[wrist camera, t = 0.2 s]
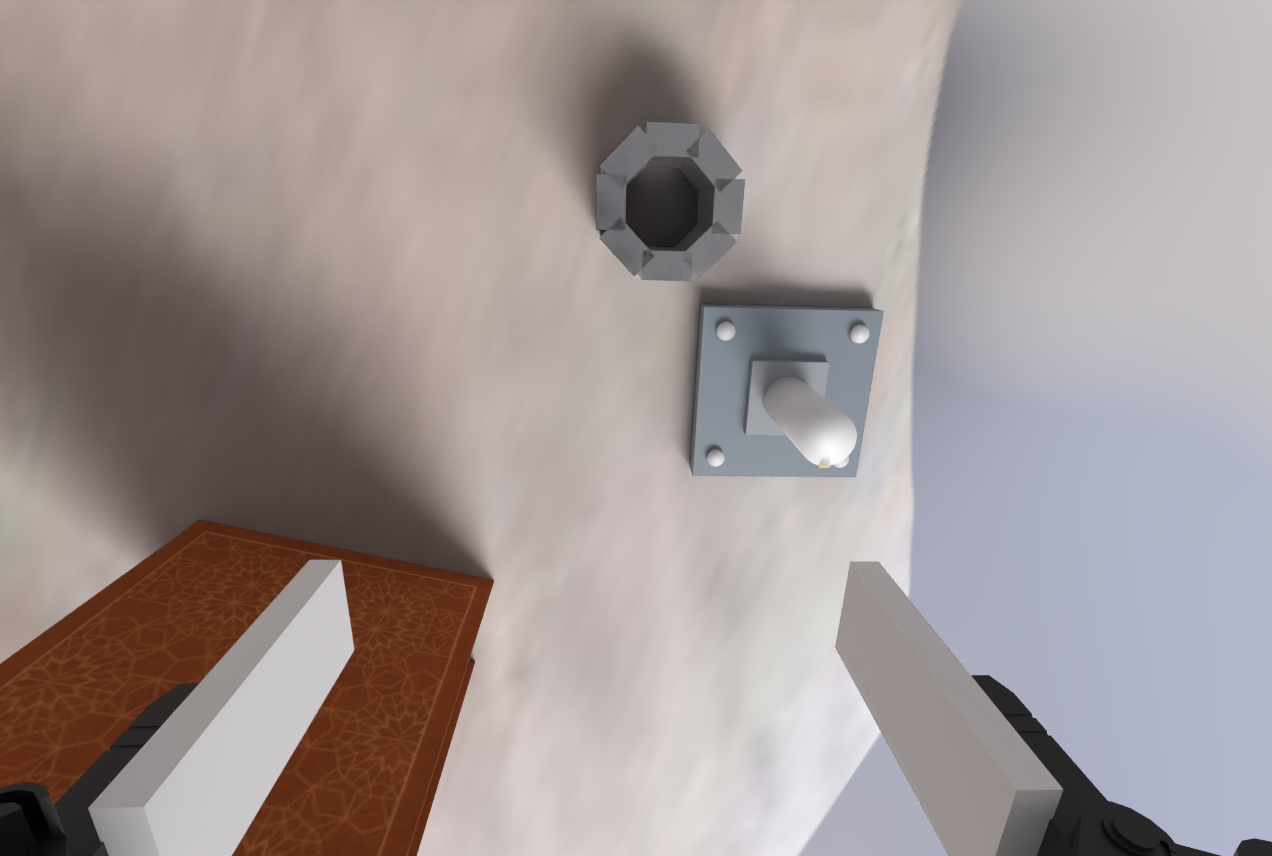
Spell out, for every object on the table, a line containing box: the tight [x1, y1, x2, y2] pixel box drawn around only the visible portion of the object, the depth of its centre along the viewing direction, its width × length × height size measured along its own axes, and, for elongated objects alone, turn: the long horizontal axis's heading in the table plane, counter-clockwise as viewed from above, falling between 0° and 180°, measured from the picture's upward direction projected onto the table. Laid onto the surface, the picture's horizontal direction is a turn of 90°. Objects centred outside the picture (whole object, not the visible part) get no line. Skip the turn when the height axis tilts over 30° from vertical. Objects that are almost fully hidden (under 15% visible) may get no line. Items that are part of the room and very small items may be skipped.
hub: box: [596, 122, 745, 281], centre depth 35 cm, size 8×8×6 cm
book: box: [0, 520, 494, 856], centre depth 31 cm, size 23×8×30 cm, turn 74°
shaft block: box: [690, 304, 884, 477], centre depth 37 cm, size 12×12×10 cm
